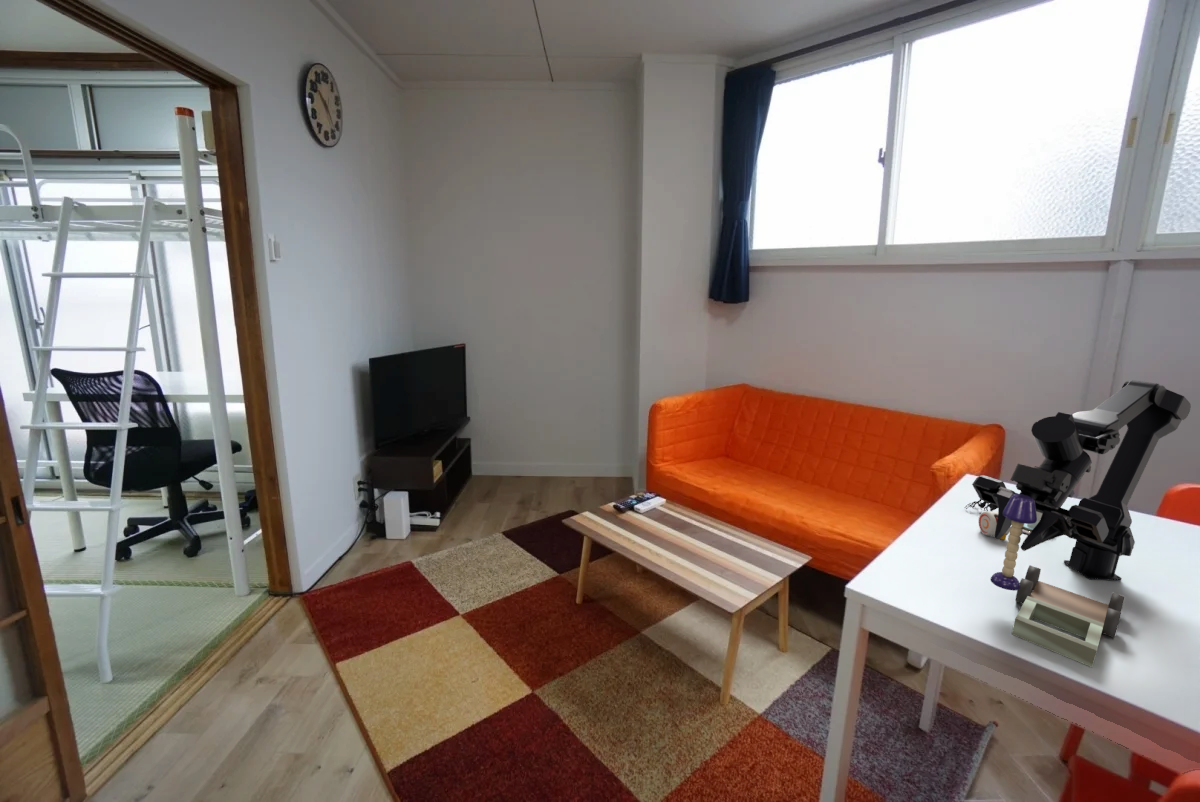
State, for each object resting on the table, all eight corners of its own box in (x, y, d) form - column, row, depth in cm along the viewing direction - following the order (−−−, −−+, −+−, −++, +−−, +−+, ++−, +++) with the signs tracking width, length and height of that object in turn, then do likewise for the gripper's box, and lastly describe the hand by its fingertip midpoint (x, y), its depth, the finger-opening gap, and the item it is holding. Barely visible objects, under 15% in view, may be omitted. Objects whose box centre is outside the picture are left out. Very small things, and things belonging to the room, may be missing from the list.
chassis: (1026, 582, 102) (1031, 562, 101) (1119, 614, 93) (1125, 592, 92) (999, 629, 88) (1005, 606, 87) (1106, 673, 78) (1113, 648, 77)
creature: (973, 521, 132) (1008, 518, 130) (971, 501, 131) (1007, 498, 129) (958, 508, 139) (991, 505, 137) (957, 489, 138) (990, 486, 136)
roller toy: (994, 529, 125) (999, 507, 123) (1011, 542, 118) (1017, 519, 117) (974, 528, 125) (979, 506, 124) (991, 541, 119) (996, 518, 118)
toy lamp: (981, 576, 94) (1000, 492, 90) (1003, 574, 95) (1022, 490, 91) (1006, 592, 90) (1026, 503, 86) (1028, 589, 91) (1049, 502, 87)
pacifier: (1050, 542, 120) (1051, 532, 124) (1056, 517, 118) (1057, 508, 123) (1011, 531, 124) (1013, 522, 129) (1016, 508, 123) (1018, 499, 127)
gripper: (987, 433, 97) (940, 498, 95) (1117, 466, 80) (1062, 545, 78) (1004, 467, 102) (959, 529, 100) (1129, 505, 85) (1078, 580, 83)
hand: (1009, 543), depth 90 cm, fingers closed on toy lamp, 4 cm apart
